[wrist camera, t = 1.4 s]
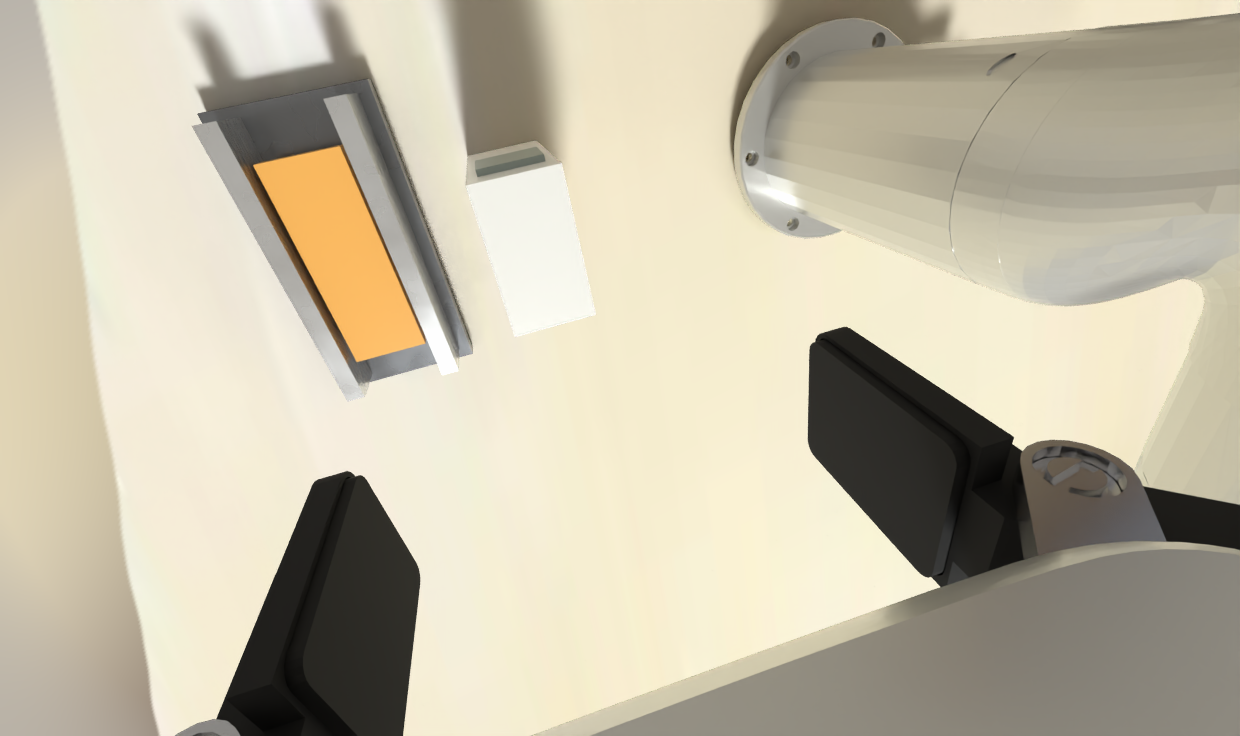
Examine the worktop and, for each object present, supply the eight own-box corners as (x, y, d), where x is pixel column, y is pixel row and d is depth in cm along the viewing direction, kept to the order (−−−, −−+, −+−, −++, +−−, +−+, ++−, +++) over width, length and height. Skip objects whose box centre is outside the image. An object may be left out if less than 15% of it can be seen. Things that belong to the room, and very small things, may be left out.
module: (534, 134, 29) (559, 155, 21) (564, 255, 33) (596, 314, 25) (465, 150, 29) (463, 178, 20) (503, 271, 33) (514, 337, 24)
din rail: (370, 79, 26) (356, 78, 23) (472, 346, 34) (472, 374, 31) (206, 112, 25) (167, 117, 22) (351, 380, 33) (339, 411, 30)
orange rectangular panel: (344, 144, 25) (339, 146, 24) (426, 336, 31) (425, 343, 30) (260, 162, 25) (253, 165, 24) (359, 354, 31) (356, 362, 30)
